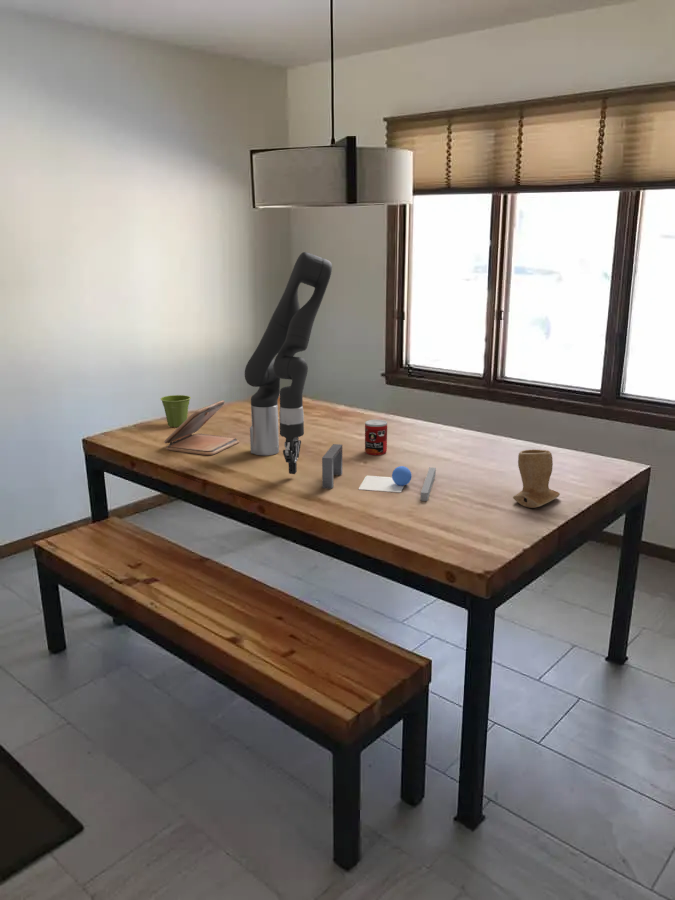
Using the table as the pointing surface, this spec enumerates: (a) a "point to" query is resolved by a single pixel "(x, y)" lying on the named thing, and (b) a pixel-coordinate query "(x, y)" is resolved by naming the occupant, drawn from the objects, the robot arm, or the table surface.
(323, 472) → the bridge
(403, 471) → the ball
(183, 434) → the case
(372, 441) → the canned food
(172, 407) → the plant pot
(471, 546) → the table surface
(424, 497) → the wall
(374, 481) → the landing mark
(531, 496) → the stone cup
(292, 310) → the robot arm
